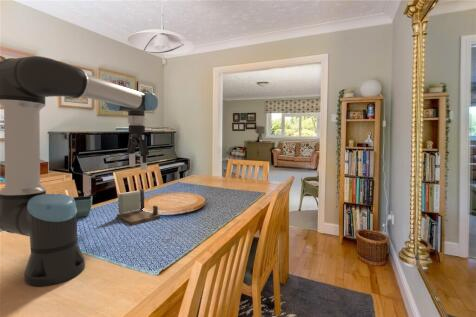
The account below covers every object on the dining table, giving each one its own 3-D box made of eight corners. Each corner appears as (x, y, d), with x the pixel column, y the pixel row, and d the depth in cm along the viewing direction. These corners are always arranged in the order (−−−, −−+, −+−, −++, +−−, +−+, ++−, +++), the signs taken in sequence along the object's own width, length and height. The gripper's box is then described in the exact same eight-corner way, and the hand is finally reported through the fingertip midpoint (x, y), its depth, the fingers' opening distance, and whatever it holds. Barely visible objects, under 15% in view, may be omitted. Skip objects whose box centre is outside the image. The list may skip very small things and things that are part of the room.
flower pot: (73, 213, 135) (73, 196, 134) (93, 212, 139) (92, 195, 138) (71, 219, 127) (70, 201, 127) (91, 217, 131) (91, 199, 130)
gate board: (130, 225, 121) (130, 198, 120) (116, 217, 132) (116, 192, 131) (160, 218, 132) (160, 193, 130) (145, 210, 143) (144, 188, 141)
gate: (138, 208, 139) (138, 190, 138) (140, 209, 137) (139, 191, 136) (118, 212, 131) (118, 193, 130) (120, 213, 130) (119, 194, 129)
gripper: (155, 125, 122) (156, 170, 124) (134, 125, 139) (135, 164, 142) (140, 124, 116) (141, 172, 119) (119, 124, 134) (120, 165, 137)
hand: (137, 168), depth 130 cm, fingers open, 13 cm apart
